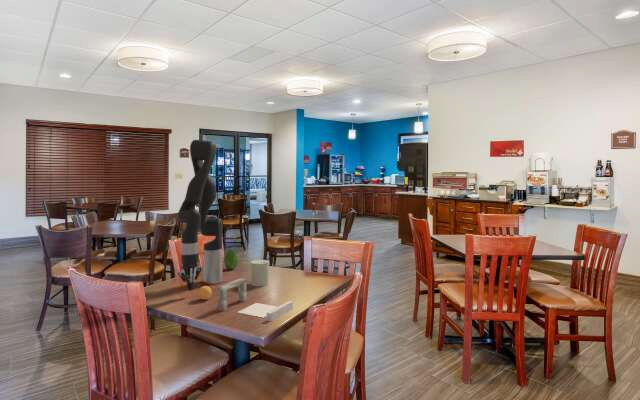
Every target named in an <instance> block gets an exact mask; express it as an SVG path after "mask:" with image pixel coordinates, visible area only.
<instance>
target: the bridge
mask: <svg viewBox="0 0 640 400" xmlns="http://www.w3.org/2000/svg"><path fill="white" fill-rule="evenodd" d="M247 282H248V281H247V278H242V277H241V278H239V279H235V280H232V281H230V282H227V283H225V284H222V285H219V286H217V290H218V291H217V304H218V305H217V308H218V309H217V310H218V311H221V312H224V311H227V310H228V290H229V289H231V288H234V287H237V286H238V287H237V288H238V290H237V291H238V292H237V293H238V302H247V299H248V297H247V296H248V294H247V293H248V290H247V289H248V287H247V286H248V284H247Z"/></svg>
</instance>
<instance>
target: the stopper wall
mask: <svg viewBox="0 0 640 400" xmlns="http://www.w3.org/2000/svg"><path fill="white" fill-rule="evenodd" d="M293 306H294V302H293V301H292V300H288V301H286V302H284V303H283V304H280V305H279V306H276V308H275V309H273V310H271V311H269V312H267V316H266V321H267V322H268V321H269V322H272V321H275V320H276V319H278V318H279V317H281V316H282V315H285V313H286V314H287V313H288V312H289V311H292V310H293V309H294V307H293Z"/></svg>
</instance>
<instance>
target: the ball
mask: <svg viewBox="0 0 640 400" xmlns="http://www.w3.org/2000/svg"><path fill="white" fill-rule="evenodd" d="M212 293H213V292H212V288H211V287H209V286H208V285H204V286H201V287H199V289H198V290H197V296H198V298H199V299H200V300H203V301H206V300H208V299H210V298H211V297H212Z"/></svg>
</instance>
